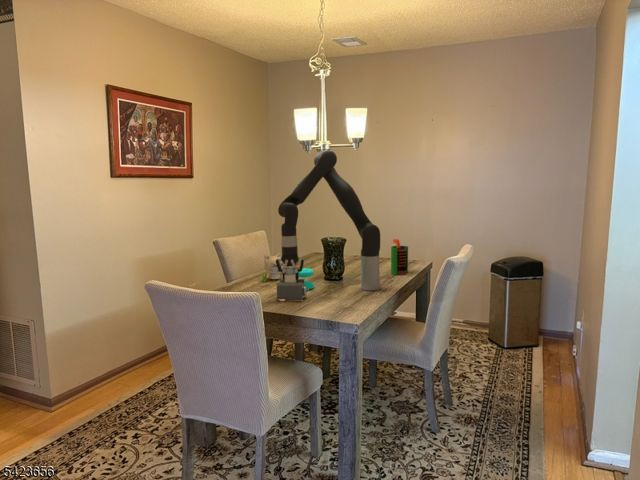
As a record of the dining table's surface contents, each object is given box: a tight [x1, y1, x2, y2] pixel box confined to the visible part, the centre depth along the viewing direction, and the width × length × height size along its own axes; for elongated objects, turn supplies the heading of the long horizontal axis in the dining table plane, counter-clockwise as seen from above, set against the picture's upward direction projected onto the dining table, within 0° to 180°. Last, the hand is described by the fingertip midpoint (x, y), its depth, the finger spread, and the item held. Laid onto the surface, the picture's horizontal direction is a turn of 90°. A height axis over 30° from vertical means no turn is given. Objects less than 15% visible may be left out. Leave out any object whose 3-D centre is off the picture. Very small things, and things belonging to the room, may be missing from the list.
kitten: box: [261, 252, 284, 281], centre depth 261 cm, size 15×10×15 cm
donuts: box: [295, 267, 315, 291], centre depth 239 cm, size 10×10×10 cm
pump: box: [285, 266, 297, 283], centre depth 220 cm, size 5×5×7 cm
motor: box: [390, 238, 409, 276], centre depth 267 cm, size 10×9×20 cm
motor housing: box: [276, 278, 308, 300], centre depth 221 cm, size 13×10×8 cm
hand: (290, 280), depth 221 cm, fingers closed on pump, 5 cm apart
